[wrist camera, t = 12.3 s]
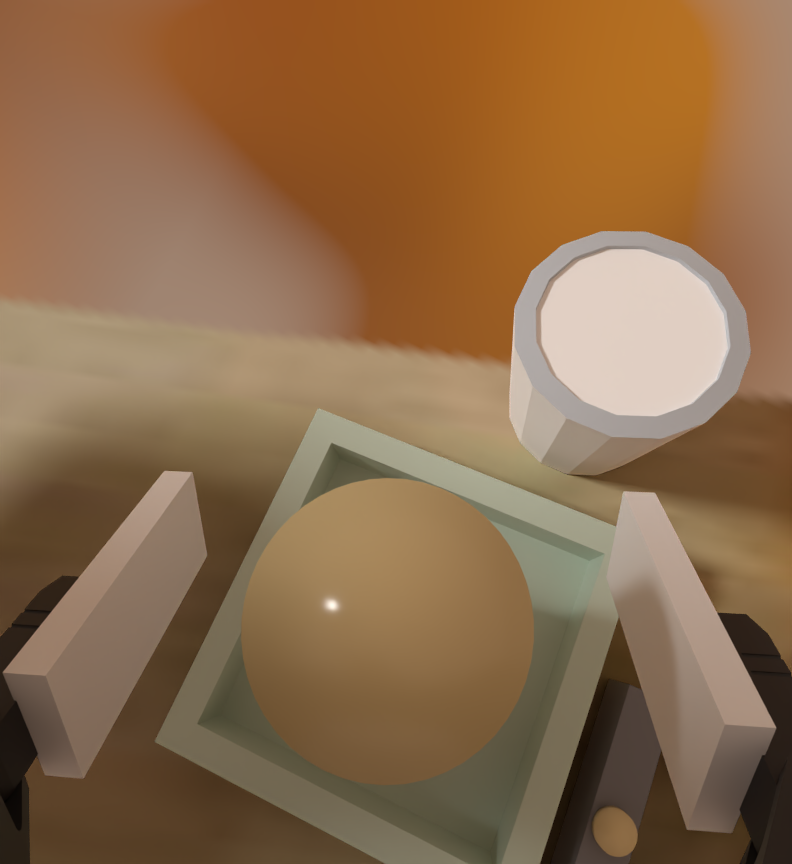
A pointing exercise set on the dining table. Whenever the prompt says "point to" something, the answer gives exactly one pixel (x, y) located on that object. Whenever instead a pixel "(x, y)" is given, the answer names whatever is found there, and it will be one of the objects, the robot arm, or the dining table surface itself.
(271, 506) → the parts tray
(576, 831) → the block
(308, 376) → the dining table surface
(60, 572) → the dining table surface
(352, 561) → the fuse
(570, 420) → the white cylinder
